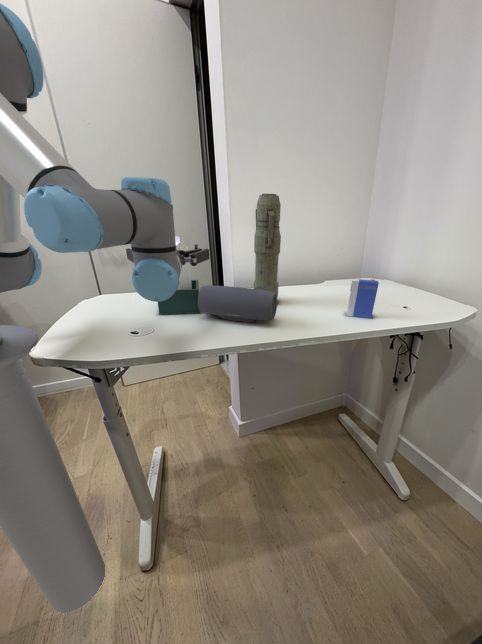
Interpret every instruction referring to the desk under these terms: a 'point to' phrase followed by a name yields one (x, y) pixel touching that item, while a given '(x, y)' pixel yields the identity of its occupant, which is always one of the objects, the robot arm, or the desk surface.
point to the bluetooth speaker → (237, 303)
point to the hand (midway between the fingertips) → (171, 249)
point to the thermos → (267, 243)
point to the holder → (181, 301)
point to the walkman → (362, 298)
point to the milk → (184, 268)
